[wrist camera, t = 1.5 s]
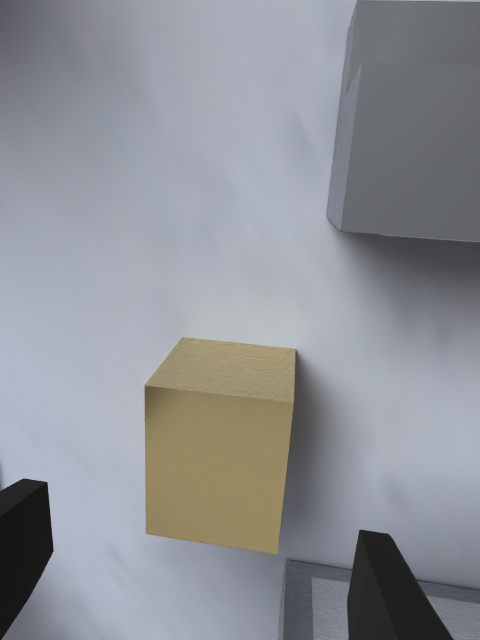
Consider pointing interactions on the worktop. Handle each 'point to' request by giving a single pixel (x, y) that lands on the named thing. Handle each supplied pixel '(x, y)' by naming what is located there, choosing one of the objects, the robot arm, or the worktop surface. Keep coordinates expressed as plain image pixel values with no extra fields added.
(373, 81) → the vise
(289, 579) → the sliding jaw
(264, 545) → the brass block
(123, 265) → the worktop surface
